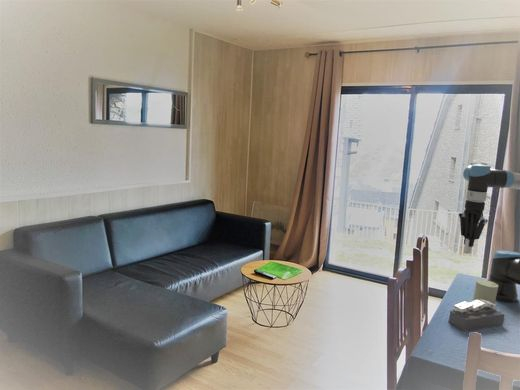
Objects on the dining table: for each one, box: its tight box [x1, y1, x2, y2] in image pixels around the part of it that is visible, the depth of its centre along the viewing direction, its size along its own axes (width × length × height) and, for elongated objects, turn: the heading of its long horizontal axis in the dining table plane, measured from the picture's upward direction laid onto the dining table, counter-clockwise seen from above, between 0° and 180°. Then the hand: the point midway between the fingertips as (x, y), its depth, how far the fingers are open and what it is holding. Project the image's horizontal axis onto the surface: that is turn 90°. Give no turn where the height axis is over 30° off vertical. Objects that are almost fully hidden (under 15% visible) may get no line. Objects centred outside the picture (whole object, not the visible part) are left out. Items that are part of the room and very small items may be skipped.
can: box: [472, 279, 498, 305], centre depth 192 cm, size 9×9×12 cm
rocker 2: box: [469, 300, 485, 311], centre depth 175 cm, size 6×4×2 cm
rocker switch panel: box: [448, 306, 505, 332], centre depth 174 cm, size 22×8×6 cm, turn 112°
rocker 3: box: [479, 299, 498, 310], centre depth 177 cm, size 6×4×2 cm
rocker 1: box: [453, 300, 473, 313], centre depth 172 cm, size 6×4×2 cm
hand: (467, 252), depth 182 cm, fingers closed
